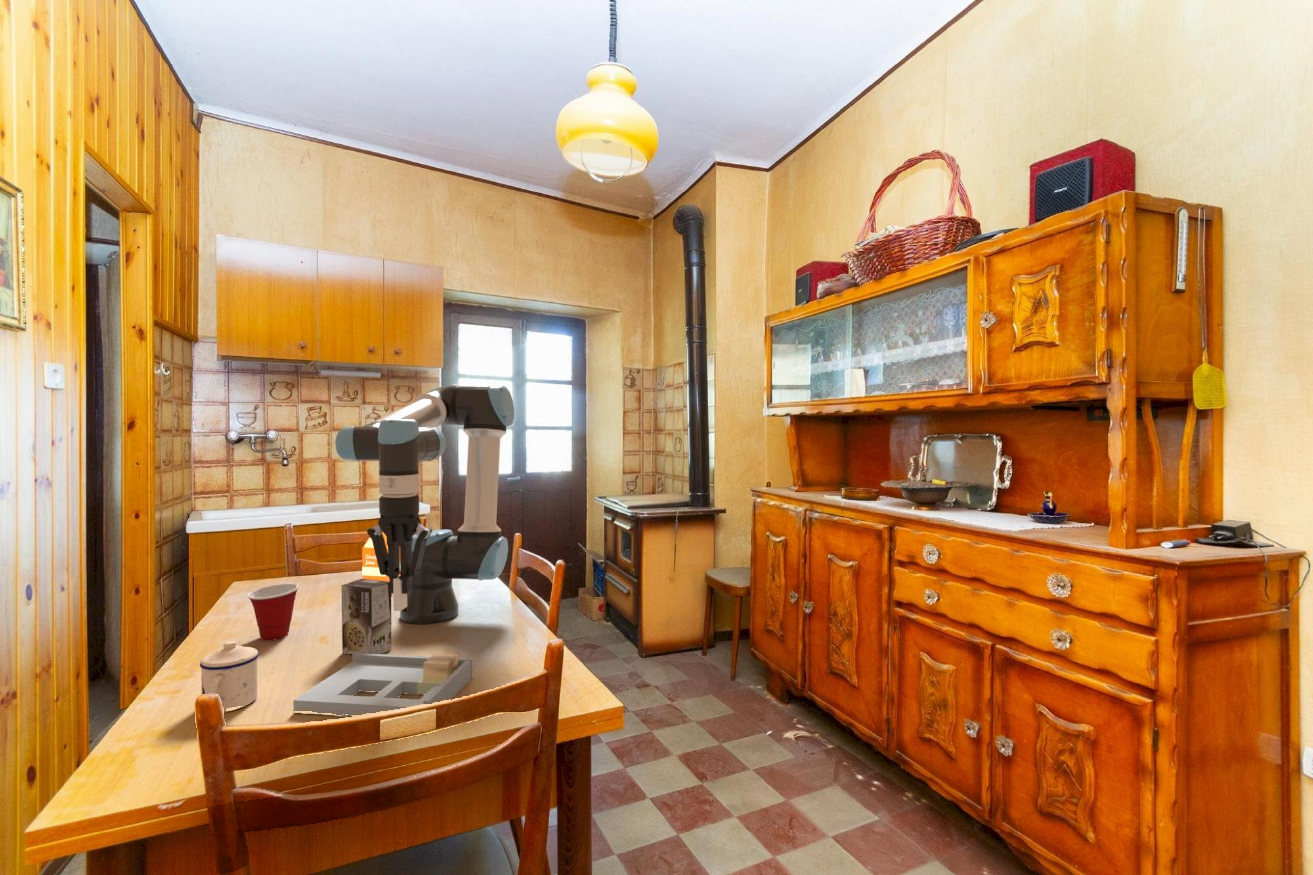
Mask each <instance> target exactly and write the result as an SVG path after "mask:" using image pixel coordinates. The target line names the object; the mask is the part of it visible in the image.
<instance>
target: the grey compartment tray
mask: <svg viewBox="0 0 1313 875" xmlns="http://www.w3.org/2000/svg"><path fill="white" fill-rule="evenodd" d="M351 656H352V661H351V662H350V663H348V664H347V665H345V666H343V667H342V668H341V669H340V670H337V671H336V672H335V673H333V674H331V675H330V676H328V677H327V678H325V679H324V680H322V681H320V682H318V684H316V685H314V686H313V687H311V688H309V689H308V690H307V691H305V692H303V693H302V694H301V695H299V696H298V697H296V698H295V699H293V703H292V704H293V712H294V711H312V712H317V713H332V714H336V715H342V716H338V717H341V718H342V717H343V718H349V717H348V716H351V715H362V714H366V713H376V712H380V711H388V710H394V709H400V708H406V707H410V706H415V705H420V704H432V703H434V702H440V701H443V700H449V699H452V700H453V699H454V698H455V697H456V696H457V694H458V693H460V692H461V690H462V689H463V688H465V686H466V685H467V684H468V683H469V682H470V681H471V680H473V669H474V668H473V663H474V662H473V658H460V657H458V669H457V670H455V671H454V672H453V673H452V674H451V675H450V676H449V677H448V678H447V679H435V678H423V663H424V662H425V661H426V660H428V659H429V658H430V657H431V656H424V655H423V656H422V655H421V656H420V655H406V654H405V655H403V654H401V655H400V654H385V653H382V654H367V653H354V654H353V655H351ZM359 690H362V691H380V692H378V693H375V695H374V696H366V695H365V696H364V695H360V696H359V695H356V694H355V693H357V692H358V691H359ZM358 693H359V692H358ZM358 693H357V694H358ZM402 693H407V694H406V695H410V694H425V695H422V696H421V698H419V699H417V698H416V699H415V698H414V699H413V698H400V697H401V696H402V695H403V694H402ZM354 694H355V695H354ZM401 694H402V695H401ZM352 695H354V696H352ZM400 695H401V696H400ZM398 696H400V697H399V698H397V697H398ZM343 714H344V715H343ZM345 714H348V715H345Z"/></svg>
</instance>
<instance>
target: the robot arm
mask: <svg viewBox="0 0 1313 875" xmlns="http://www.w3.org/2000/svg"><path fill="white" fill-rule="evenodd" d="M514 420H515V405H514V399H513V397H512V395H511V392H510V390H509V389H508V388H507V387H506V386H505V385H501V384H493V383H482V384H481V383H474V384H472V383H471V384H470V383H469V384H468V383H467V384H466V383H464V384H463V383H454V384H453V383H452V384H448V385H444V386H441V387H436V388H435V389H432V390H429V391H426V392H424V393H422V394H420V395H418V396H417V397H416V398H415V399H414V400H413V401H412V403H409V404H408V405H406V406H404V407H401V408H399V409H397V410H395V411H393V412H391V413H389V414H386V415H384V416H382V417H380V418H377V419H375V420H374V421H372V422H370V423H369V422H368V424H367V423H366V425H363V426H356V425H353V426H345V427H342V428H340V429H339V431H338V432H337V434H336V437H335V442H334V443H335V451H336V453H337V455H338V456H339V458H341V459H342V460H346V461H355V462H359V461H360V462H378V486H379V487H378V490H379V491H378V493H379V494H380V495H381V496H380V497H379V498H378V503H379V504H378V506H379V507H378V508H379V509H378V513H379V515H380V517H379V519H378V522H377V525H375V526H373V527H371V528H367V530H366V533H367V535H368V536H369V537H370V538H371V540H372V543H373V547H374V551H375V555H376V559H377V563H378V567H379V571H380V574H381V575H386V576H388V577H389V580H390V593H391V594H392V596H393V601H392V602H393V612H394V611H395V612H399V618H400V620H401V621H403V622H405V623H407V624H415V625H416V624H418V625H419V624H434V623H439V622H444V621H448V620H450V619H452V618H455V617H456V616H458V614H459V603H458V602H459V601H458V600H457V597H456V593H455V591H454V588H453V579H454V580H478V581H485V580H488V581H489V580H496V579H497V578H499V576H500V575H501V574H502V572H503V571H504V568H505V566H506V562H507V559H508V554H509V544H508V543H509V542H508V539H507V537H504V536H502V529H501V528H500V526H498V524H497V514H498V512H497V511H498V492H499V491H498V490H499V472H500V454H501V452H500V451H501V439H502V437H503V436H505V435H506V434H507V427H510V426H512V425H513V424H514ZM446 425H447V426H448V425H449V426H463V430H462V431H463V432H464V434H466V435H467V437H468V441H467V444H468V446H467V460H466V464H467V465H466V481H465V483H466V484H465V496H464V497H465V499H464V515H463V516H464V520H463V524H461V526H460V527H458V529H457V535H454V533H453V530H451V529H436V530H433V529H432V528H431V527H428V528H427V527H425V526H424V525H422V521H421V519H420V516H419V513H420V496H419V495H418V493H419V492H420V479H419V478H420V477H419V476H420V475H419V473H420V472H419V463H423V462H432V461H434V460H436V459H438V458H440V457H441V456H442V455H443V454H444V453H445V451H446V447H447V438H446V436H445V435H444V433H443V432H442V431H441V430H439V429H438V428H437V427H440V426H446ZM383 533H384V534H385V535H386V537H387V545H388V552H387V548H386V544H385V539H384V536H383ZM399 574H400V576H399Z"/></svg>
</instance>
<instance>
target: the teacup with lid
mask: <svg viewBox="0 0 1313 875" xmlns="http://www.w3.org/2000/svg"><path fill="white" fill-rule="evenodd" d="M259 655H260V653H259V651H258V650H257V649H256V648H254V647H251V646H243V645H240V644H239V645H238V644H237V642H236V641H235V640H229V641H225V642H224V643H223V647H221V648H219V649H218V650H216V651H214V652H211V653H209V654H207V655H205V656H204V657H203V658H202V659H201V660H200V663H199V666H200V668H201V695H202V694H208V693H215V694H219V696H220V698H221V701H222V706H223V708H224V713H226V714H227V712H226V709H227V708H230V707H231V708H232V707H237V706H245V705H247V704H250V703H251V702H253V701H254V700H255V701H256V700H257V699H256V698H258V696H259V695H258V683H259V682H258V658H259ZM255 701H254V702H255ZM254 702H253V703H254ZM250 705H251V704H250ZM224 713H223V714H224Z"/></svg>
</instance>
